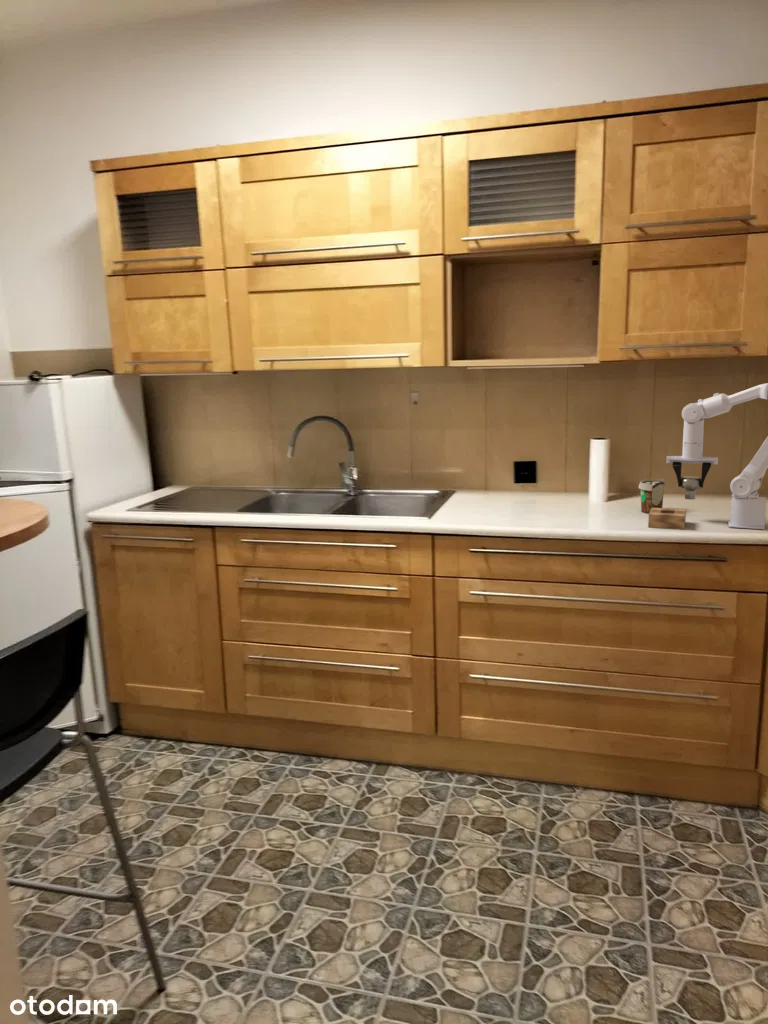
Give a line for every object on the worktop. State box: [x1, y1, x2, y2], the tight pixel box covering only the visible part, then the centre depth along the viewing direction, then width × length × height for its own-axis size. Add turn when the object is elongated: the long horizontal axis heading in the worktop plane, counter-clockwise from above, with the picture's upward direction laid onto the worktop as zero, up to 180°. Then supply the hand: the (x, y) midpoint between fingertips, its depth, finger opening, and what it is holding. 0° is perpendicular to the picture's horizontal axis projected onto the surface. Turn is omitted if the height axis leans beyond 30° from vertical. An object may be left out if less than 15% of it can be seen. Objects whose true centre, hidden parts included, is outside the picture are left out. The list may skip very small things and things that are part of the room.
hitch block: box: [647, 507, 687, 530], centre depth 225 cm, size 10×10×4 cm
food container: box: [638, 478, 666, 515], centre depth 244 cm, size 12×6×10 cm, turn 141°
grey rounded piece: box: [680, 475, 701, 500], centre depth 228 cm, size 6×6×6 cm
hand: (690, 486), depth 228 cm, fingers closed on grey rounded piece, 6 cm apart
